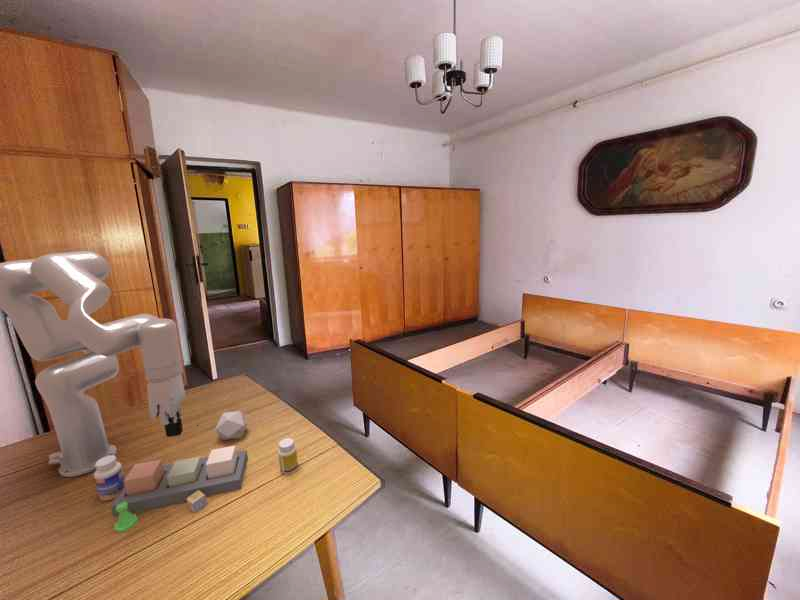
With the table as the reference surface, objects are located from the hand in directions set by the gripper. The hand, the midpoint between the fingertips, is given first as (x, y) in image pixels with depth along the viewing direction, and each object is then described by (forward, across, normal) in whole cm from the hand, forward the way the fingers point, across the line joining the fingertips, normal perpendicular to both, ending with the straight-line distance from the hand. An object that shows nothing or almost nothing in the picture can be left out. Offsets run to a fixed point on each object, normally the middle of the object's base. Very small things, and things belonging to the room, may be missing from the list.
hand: (174, 434), depth 85 cm
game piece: (+16, +10, -9) cm, 21 cm away
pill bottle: (+16, -2, -17) cm, 23 cm away
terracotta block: (+13, +1, -8) cm, 16 cm away
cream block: (+13, +1, +10) cm, 17 cm away
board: (+15, +1, +1) cm, 15 cm away
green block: (+15, +1, +1) cm, 15 cm away
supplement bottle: (+14, +3, +27) cm, 31 cm away
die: (+16, -18, +9) cm, 26 cm away
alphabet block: (+15, +10, +6) cm, 19 cm away
